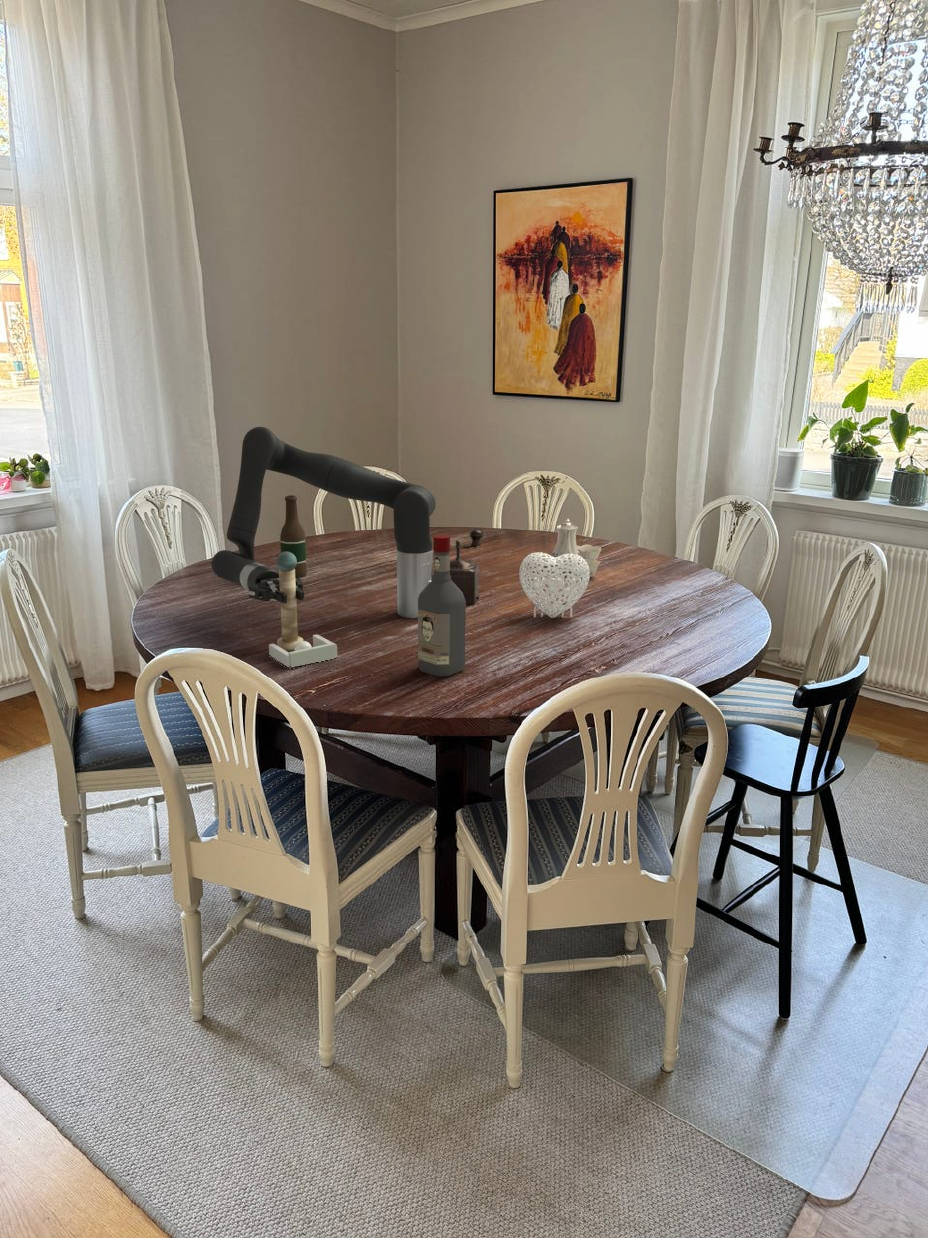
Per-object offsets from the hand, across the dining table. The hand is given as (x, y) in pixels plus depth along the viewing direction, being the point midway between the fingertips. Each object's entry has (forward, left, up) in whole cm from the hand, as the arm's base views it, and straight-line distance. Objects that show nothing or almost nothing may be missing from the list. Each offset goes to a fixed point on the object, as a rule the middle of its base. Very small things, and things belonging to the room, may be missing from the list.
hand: (293, 597), depth 212 cm
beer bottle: (+16, -67, -14) cm, 71 cm away
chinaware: (-69, -82, -14) cm, 108 cm away
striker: (+2, -2, -12) cm, 13 cm away
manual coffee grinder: (-35, -49, -14) cm, 62 cm away
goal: (-2, +3, -13) cm, 14 cm away
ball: (-2, +3, -11) cm, 12 cm away
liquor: (-34, +8, -14) cm, 38 cm away
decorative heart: (-60, -32, -14) cm, 70 cm away
